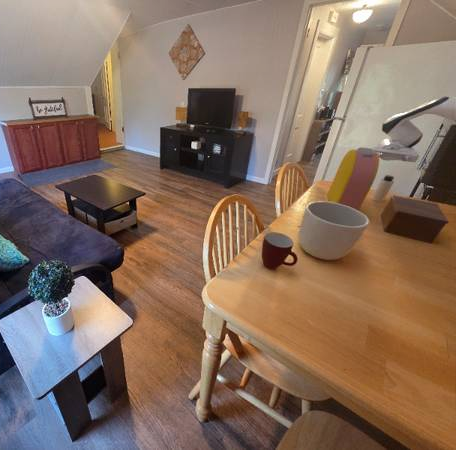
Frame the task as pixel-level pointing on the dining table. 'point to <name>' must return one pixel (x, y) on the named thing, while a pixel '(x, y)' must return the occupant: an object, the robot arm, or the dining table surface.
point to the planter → (331, 229)
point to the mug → (277, 250)
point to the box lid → (419, 209)
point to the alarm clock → (354, 178)
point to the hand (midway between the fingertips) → (392, 157)
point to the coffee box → (409, 225)
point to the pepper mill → (383, 188)
